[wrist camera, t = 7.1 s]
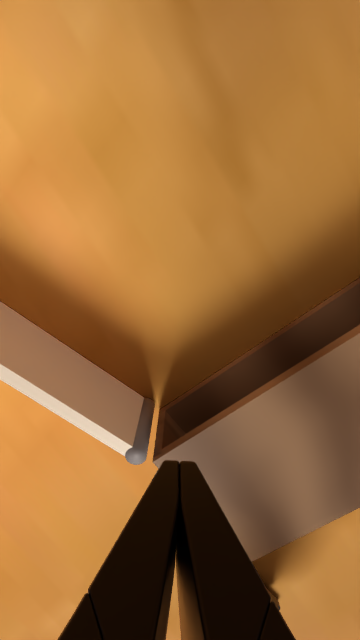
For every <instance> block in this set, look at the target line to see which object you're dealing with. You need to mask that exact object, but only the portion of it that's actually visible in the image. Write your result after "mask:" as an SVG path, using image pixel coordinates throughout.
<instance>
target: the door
mask: <svg viewBox="0 0 360 640" xmlns="http://www.w3.org/2000/svg"><path fill="white" fill-rule="evenodd" d="M0 380H2V381H3V382H5V383H7V384H8V385H10V386H12V387H13V388H15V389H16V390H18V391H20V392H21V393H23V394H25V395H26V396H28V397H29V398H31V399H33V400H34V401H36V402H38V403H39V404H41V405H42V406H44V407H46V408H47V409H49V410H51V411H52V412H54V413H55V414H57V415H59V416H60V417H62V418H63V419H65V420H67V421H68V422H70V423H72V424H73V425H75V426H76V427H78V428H80V429H81V430H83V431H85V432H86V433H88V434H89V435H91V436H93V437H94V438H96V439H98V440H99V441H101V442H102V443H104V444H106V445H107V446H109V447H111V448H112V449H114V450H115V451H117V452H119V453H120V454H122V455H124V456H125V458H126V460H127V461H128V462H129V463H131V464H134V465H138V464H142V463H143V462H144V461H145V460H146V457H147V450H148V444H149V438H150V432H151V425H152V419H153V413H154V407H155V404H154V402H153V400H152V399H150V398H144V397H143V396H141V395H140V394H138V393H137V392H135V391H134V390H132V389H131V388H129V387H128V386H126V385H125V384H123V383H122V382H120V381H119V380H117V379H116V378H114V377H113V376H111V375H110V374H108V373H107V372H105V371H104V370H102V369H101V368H99V367H98V366H96V365H95V364H93V363H92V362H90V361H89V360H87V359H86V358H84V357H83V356H81V355H80V354H78V353H77V352H75V351H74V350H72V349H71V348H69V347H68V346H66V345H65V344H63V343H62V342H60V341H59V340H57V339H56V338H54V337H53V336H51V335H50V334H48V333H47V332H45V331H44V330H42V329H41V328H39V327H38V326H36V325H35V324H33V323H32V322H30V321H29V320H27V319H26V318H24V317H23V316H22V315H20V314H19V313H17V312H16V311H14V310H13V309H11V308H10V307H8V306H7V305H5V304H4V303H2V302H1V301H0Z"/></svg>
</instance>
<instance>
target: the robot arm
mask: <svg viewBox="0 0 360 640" xmlns="http://www.w3.org/2000/svg"><path fill="white" fill-rule="evenodd" d="M175 558H176V572H177V587H178V601H179V615H180V629H181V640H296V639H295V638H294V636H293V634H292V632H291V631H290V629H289V627H288V626H287V624H286V622H285V620H284V619H283V617H282V615H281V613H280V611H279V610H280V605H279V602H278V601H277V600H276V598H275V597H274V596H273V595H272V594H271V593H270V592H269V590H268V589H267V588H266V587H265V585H264V583H263V582H262V580H261V578H260V576H259V574H258V573H257V571H256V569H255V567H254V565H253V564H252V562H251V560H250V558H249V557H248V555H247V553H246V551H245V549H244V548H243V546H242V544H241V542H240V541H239V539H238V537H237V535H236V533H235V532H234V530H233V528H232V526H231V524H230V523H229V521H228V519H227V517H226V516H225V514H224V512H223V510H222V508H221V507H220V505H219V503H218V501H217V500H216V498H215V496H214V494H213V492H212V491H211V489H210V487H209V485H208V484H207V482H206V480H205V478H204V476H203V475H202V473H201V471H200V469H199V467H198V466H197V464H196V463H195V462H194V461H181V462H180V464H179V462H178V461H176V460H165V461H163V462H162V464H161V466H160V467H159V469H158V471H157V473H156V474H155V476H154V478H153V479H152V481H151V483H150V485H149V486H148V488H147V490H146V491H145V493H144V495H143V496H142V498H141V500H140V502H139V503H138V505H137V507H136V508H135V510H134V512H133V514H132V515H131V517H130V519H129V520H128V522H127V524H126V525H125V527H124V529H123V531H122V532H121V534H120V536H119V537H118V539H117V541H116V542H115V544H114V546H113V548H112V549H111V551H110V553H109V554H108V556H107V558H106V560H105V561H104V563H103V565H102V566H101V568H100V570H99V571H98V573H97V575H96V577H95V578H94V580H93V582H92V583H91V585H90V587H89V589H88V593H86V594H85V595H84V597H83V598H82V600H81V602H80V603H79V605H78V607H77V609H76V610H75V612H74V614H73V615H72V617H71V619H70V620H69V622H68V623H67V625H66V627H65V628H64V630H63V632H62V633H61V635H60V636H59V638H58V640H166V632H167V624H168V617H169V609H170V601H171V593H172V586H173V578H174V569H175Z"/></svg>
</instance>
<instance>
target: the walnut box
mask: <svg viewBox="0 0 360 640" xmlns="http://www.w3.org/2000/svg"><path fill="white" fill-rule="evenodd" d="M165 460H176V461H178V462H179V464H180V462H181V461H194V462H195V463H196V464H197V466H198V467H199V469H200V471H201V473H202V475H203V476H204V478H205V480H206V482H207V484H208V485H209V487H210V489H211V491H212V492H213V494H214V496H215V498H216V500H217V501H218V503H219V505H220V507H221V508H222V510H223V512H224V514H225V516H226V517H227V519H228V521H229V523H230V524H231V526H232V528H233V530H234V532H235V533H236V535H237V537H238V539H239V541H240V542H241V544H242V546H243V548H244V549H245V551H246V553H247V555H248V557H249V558H250V560H251V562H252V561H254V560H256V559H258V558H260V557H262V556H264V555H266V554H268V553H270V552H272V551H274V550H276V549H278V548H280V547H282V546H284V545H286V544H288V543H290V542H292V541H294V540H296V539H298V538H300V537H302V536H304V535H306V534H308V533H310V532H312V531H314V530H316V529H318V528H320V527H322V526H324V525H326V524H328V523H330V522H332V521H334V520H336V519H338V518H340V517H342V516H344V515H346V514H348V513H350V512H352V511H354V510H356V509H358V508H360V278H358V279H357V280H355V281H354V282H352V283H351V284H349V285H348V286H346V287H345V288H343V289H342V290H340V291H339V292H337V293H336V294H334V295H333V296H331V297H330V298H328V299H327V300H325V301H324V302H322V303H321V304H319V305H318V306H316V307H314V308H313V309H311V310H310V311H308V312H307V313H305V314H304V315H302V316H301V317H299V318H298V319H296V320H295V321H293V322H292V323H290V324H289V325H287V326H286V327H284V328H283V329H281V330H280V331H278V332H277V333H275V334H274V335H272V336H271V337H269V338H268V339H266V340H265V341H263V342H262V343H260V344H259V345H257V346H255V347H254V348H252V349H251V350H249V351H248V352H246V353H245V354H243V355H242V356H240V357H239V358H237V359H236V360H234V361H233V362H231V363H230V364H228V365H227V366H225V367H224V368H222V369H221V370H219V371H218V372H216V373H215V374H213V375H212V376H210V377H209V378H207V379H206V380H204V381H203V382H201V383H200V384H198V385H196V386H195V387H193V388H192V389H190V390H189V391H187V392H186V393H184V394H183V395H181V396H180V397H178V398H177V399H175V400H174V401H172V402H171V403H169V404H168V405H166V406H165V407H163V408H162V409H160V410H159V417H158V425H157V433H156V440H155V448H154V456H153V463H154V464H155V465H156V466H157V467H158V468H159V467H160V466H161V464H162V462H163V461H165Z"/></svg>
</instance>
